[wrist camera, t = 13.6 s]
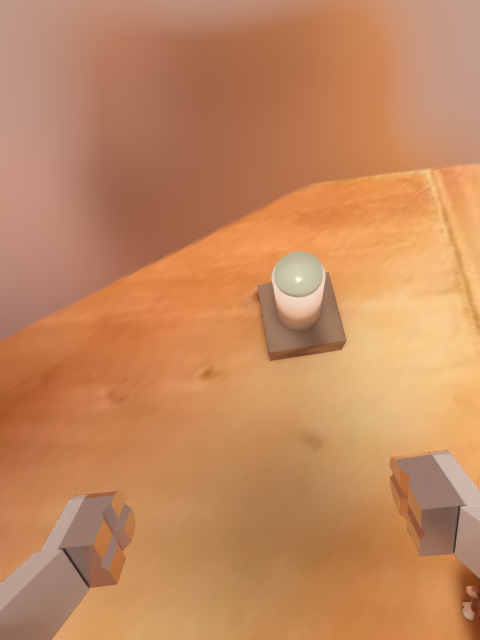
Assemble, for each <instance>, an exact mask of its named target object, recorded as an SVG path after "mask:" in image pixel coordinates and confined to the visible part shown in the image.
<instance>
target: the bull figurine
mask: <svg viewBox="0 0 480 640" xmlns="http://www.w3.org/2000/svg"><path fill="white" fill-rule="evenodd" d="M466 591H467V593H468V594H469V595H470V596H471V602H463V603H462V604H463V606H464V608H463V609H462V615H463V616H464V618H465V619H467V620H469V621H472V620H473V619H474V617H475V615H478V616H479V618H480V600H479V598H480V588H476V587H472V586H467V589H466Z"/></svg>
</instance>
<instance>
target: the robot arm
mask: <svg viewBox="0 0 480 640" xmlns="http://www.w3.org/2000/svg"><path fill="white" fill-rule="evenodd" d="M390 467H391V470H392V472H393V475H392V476H391V477H390V486H391V490H392V495H393V498H394V501H395V504H396V506H397V508H398V511H399V513H400V514H401V515H402V516H404V517H405V518H406V519H407V530H408V533H409V535H410V537H411V539H412V541H413V543H414V545H415V547H416V550H417V552H418V554H419V556H429V555H445V554H454V556H455V557H456V558H457V559H458V560H459V561H461V562H462V563H463V564H464V565H465V566H466V567H467V568H468V569H469V570H470V571H472V572H473V573H474V574H475V575H476V576H477V577H478V578H479V579H480V491H479V489H478V488H477V487H476V485H475V484H474V483H473V481H472V480H471V479H470V477H469V476H468V475H467V473H466V472H465V471H464V469H463V468H462V467H461V466H460V464H459V463H458V462H457V460H456V459H455V458H454V456H453V455H452V454H451V453H450V452H449V451H447V450H443V451H435V452H428V453H426V452H424V453H417V454H409V455H402V456H395V457H391V459H390ZM125 500H126V497H125V495H124V493H123V492H122V491H116V492H105V493H95V494H85V495H76V496H73V497H72V498H71V499H70V500H69V501H68V503H67V505H66V506H65V508H64V510H63V512H62V513H61V515H60V517H59V519H58V521H57V522H56V524H55V526H54V528H53V529H52V531H51V533H50V535H49V537H48V538H47V540H46V542H45V544H44V545H43V547H42V549H41V551H40V552H35V553H34V554H33V555H32V556H31V557H29V558H28V559H27V560H26V561H25V562H24V563H23V564H22V565H21V566H20V567H18V568H17V569H16V570H15V571H14V572H13V573H12V574H11V575H10V576H9V577H7V578H6V579H5V580H4V581H3V582H2V583H1V584H0V640H52V639H53V637H54V636H55V635H56V633H57V632H58V631H59V629H60V628H61V627H62V625H63V624H64V623H65V621H66V620H67V619H68V617H69V616H70V615H71V613H72V612H73V611H74V609H75V608H76V607H77V605H78V604H79V603H80V601H81V600H82V599H83V597H84V596H85V595H86V594H87V592H88V591H89V588H91V587H99V586H107V585H115V584H117V583H118V580H119V577H120V574H121V571H122V568H123V565H124V562H125V559H126V558H125V554H124V549H125V548H126V547H127V546H128V545H129V544H130V543H131V540H132V537H133V533H134V526H135V518H134V513H133V511H132V509H131V508H130V507H129V506H127V505H125V504H124V503H125Z"/></svg>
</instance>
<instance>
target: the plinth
mask: <svg viewBox="0 0 480 640" xmlns="http://www.w3.org/2000/svg"><path fill="white" fill-rule="evenodd" d="M325 274H326V278H325V285H324V291H323V297H322V303H321V309H320V315H319V319H318V321H317V322H316V324H315V325H314V326H313V327H311V328H310V329H308V330H305V331H293V330H290V329H288V328H286V327H285V326H284V325H283V324H282V323H281V322H280V320H279V317H278V312H277V306H276V300H275V295H274V289H273V283H267V284H261V285H258V291H259V298H260V304H261V310H262V316H263V322H264V328H265V335H266V341H267V347H268V353H269V357H270V361H272V360H278V359H285V358H291V357H297V356H304V355H310V354H316V353H323V352H329V351H335V350H341V349H342V347H343V345H344V344H345V342H346V337H345V334H344V330H343V326H342V322H341V318H340V314H339V311H338V307H337V303H336V299H335V295H334V291H333V288H332V284H331V280H330V276H329V272H328V273H325Z"/></svg>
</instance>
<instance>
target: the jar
mask: <svg viewBox="0 0 480 640" xmlns="http://www.w3.org/2000/svg"><path fill="white" fill-rule="evenodd" d="M325 278H326V274H325V270H324V267H323V265H322V264H321V263H320V261H319V260H318V259H317V258H316V257H315V256H313V255H311V254H309V253H306V252H292V253H289V254H287V255H285V256H284V257H282V258H281V259H280V260H279V262H278V263H277V264H276V266H275V267H274V270H273V273H272V283H273V289H274V295H275V300H276V306H277V312H278V317H279V320H280V322H281V323H282V324H283V325H284V326H285V327H286V328H288V329H290V330H293V331H305V330H308V329H310V328H311V327H313V326H314V325H315V324H316V322H317V321H318V319H319V315H320V309H321V303H322V297H323V291H324V285H325Z"/></svg>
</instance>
